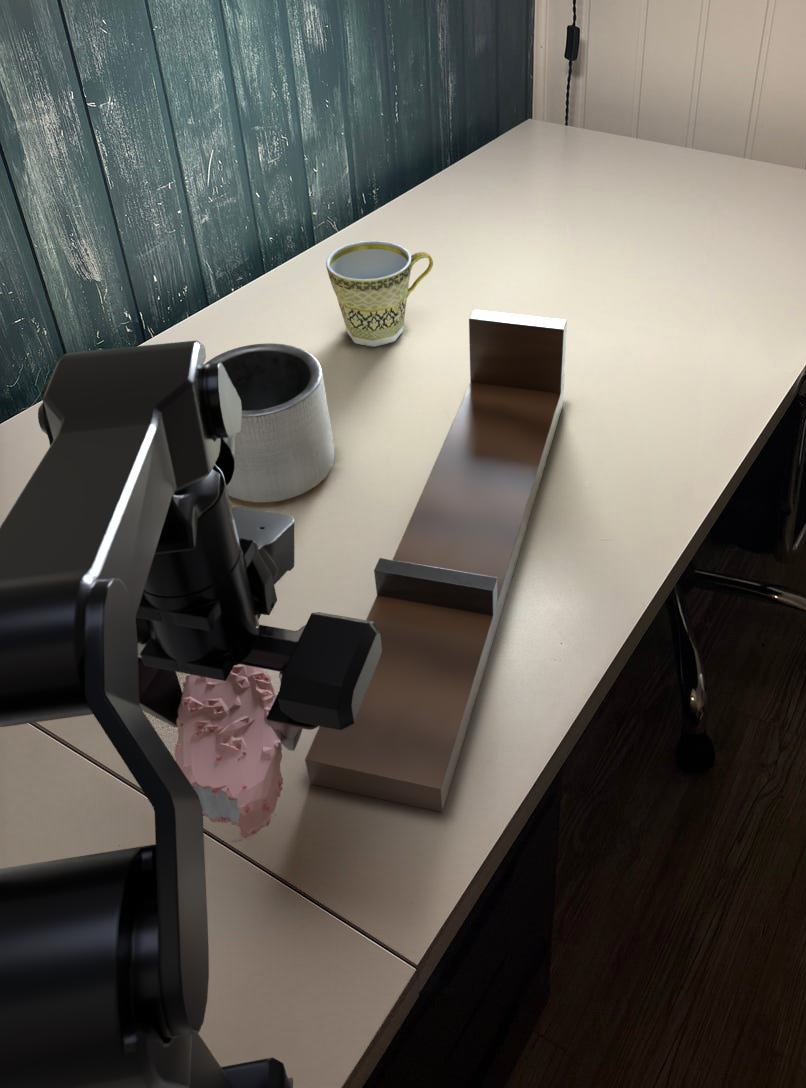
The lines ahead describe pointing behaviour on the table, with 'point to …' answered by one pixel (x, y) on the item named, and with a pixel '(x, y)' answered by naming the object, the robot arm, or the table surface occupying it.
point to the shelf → (452, 571)
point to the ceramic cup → (373, 288)
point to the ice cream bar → (231, 747)
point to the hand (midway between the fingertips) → (237, 732)
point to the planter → (278, 422)
